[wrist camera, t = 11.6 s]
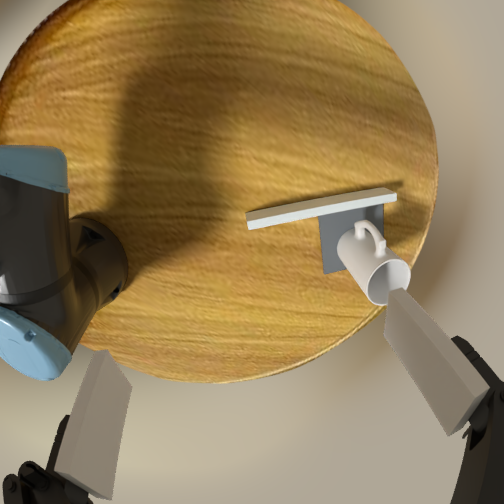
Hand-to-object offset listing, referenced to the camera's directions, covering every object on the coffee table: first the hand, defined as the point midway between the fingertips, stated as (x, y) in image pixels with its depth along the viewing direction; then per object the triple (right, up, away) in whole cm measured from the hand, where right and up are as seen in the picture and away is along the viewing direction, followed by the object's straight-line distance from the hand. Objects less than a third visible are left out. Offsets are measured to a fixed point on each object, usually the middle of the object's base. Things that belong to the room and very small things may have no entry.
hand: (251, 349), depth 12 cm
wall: (+10, +12, +29) cm, 33 cm away
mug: (+16, +7, +31) cm, 36 cm away
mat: (+16, +7, +32) cm, 36 cm away
